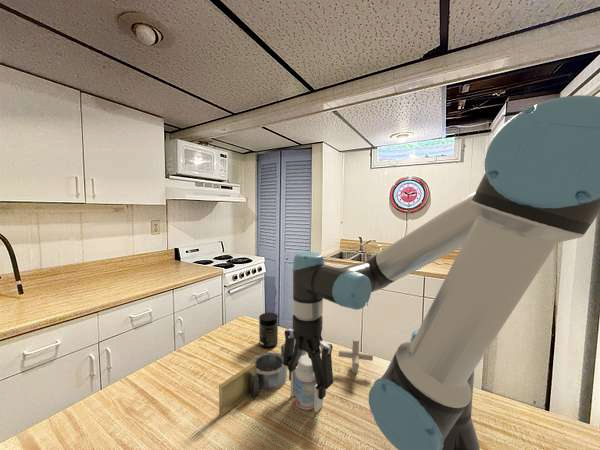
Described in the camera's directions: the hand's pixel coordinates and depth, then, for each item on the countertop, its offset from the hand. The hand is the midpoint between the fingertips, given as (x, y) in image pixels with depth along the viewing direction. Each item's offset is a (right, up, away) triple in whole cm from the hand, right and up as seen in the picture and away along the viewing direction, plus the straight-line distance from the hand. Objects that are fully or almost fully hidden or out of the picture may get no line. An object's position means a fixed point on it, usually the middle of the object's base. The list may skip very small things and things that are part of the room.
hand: (306, 400), depth 64 cm
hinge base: (-8, +1, +12) cm, 15 cm away
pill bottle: (0, 0, 0) cm, 0 cm away
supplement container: (-13, +2, +26) cm, 29 cm away
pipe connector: (+15, 0, +12) cm, 19 cm away
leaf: (-17, 0, 0) cm, 17 cm away
